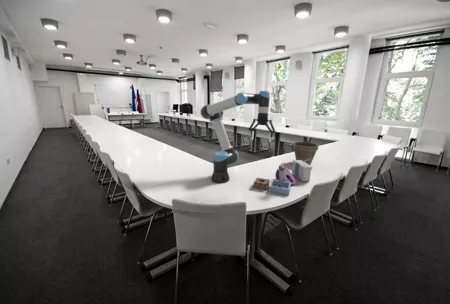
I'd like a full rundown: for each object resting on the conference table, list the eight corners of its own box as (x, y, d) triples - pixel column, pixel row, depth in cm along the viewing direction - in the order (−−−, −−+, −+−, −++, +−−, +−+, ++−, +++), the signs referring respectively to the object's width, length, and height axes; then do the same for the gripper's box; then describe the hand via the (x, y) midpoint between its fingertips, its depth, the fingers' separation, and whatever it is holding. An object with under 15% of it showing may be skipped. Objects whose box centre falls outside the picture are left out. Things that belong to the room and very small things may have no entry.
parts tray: (268, 191, 145) (269, 186, 144) (272, 184, 157) (272, 179, 156) (288, 195, 140) (289, 189, 139) (290, 187, 152) (291, 182, 151)
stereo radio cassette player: (291, 173, 184) (293, 152, 179) (299, 173, 184) (301, 152, 180) (301, 182, 164) (304, 159, 159) (311, 181, 164) (313, 158, 159)
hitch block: (253, 188, 151) (253, 181, 150) (256, 183, 160) (257, 177, 159) (266, 190, 147) (266, 184, 146) (269, 185, 156) (269, 179, 155)
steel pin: (276, 189, 147) (278, 166, 143) (277, 186, 151) (279, 165, 147) (282, 190, 145) (285, 167, 141) (283, 187, 149) (285, 165, 145)
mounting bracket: (294, 190, 162) (283, 174, 175) (298, 183, 157) (287, 167, 170) (284, 191, 159) (274, 175, 172) (287, 184, 154) (277, 168, 167)
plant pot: (321, 166, 206) (324, 145, 200) (300, 167, 200) (302, 146, 195) (306, 159, 229) (308, 141, 224) (287, 160, 224) (289, 142, 219)
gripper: (245, 111, 149) (244, 139, 154) (279, 113, 139) (276, 143, 145) (248, 111, 155) (246, 138, 161) (281, 113, 146) (278, 141, 151)
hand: (260, 140), depth 153 cm, fingers open, 13 cm apart
